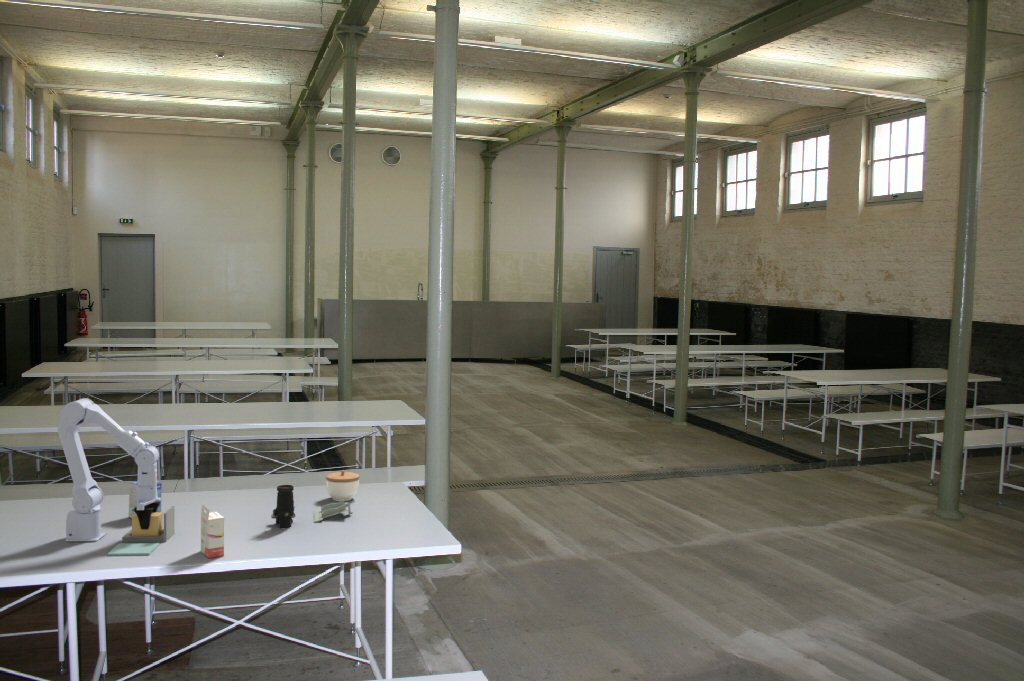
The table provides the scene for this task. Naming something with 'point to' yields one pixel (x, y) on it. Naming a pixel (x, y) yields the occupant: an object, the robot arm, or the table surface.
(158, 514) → the orange rectangular block
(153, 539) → the grey angular piece
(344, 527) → the table surface
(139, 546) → the teal pad
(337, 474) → the lidded bowl
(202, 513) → the ink cartridge box
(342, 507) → the metal bracket
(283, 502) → the scope
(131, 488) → the ink cartridge box
